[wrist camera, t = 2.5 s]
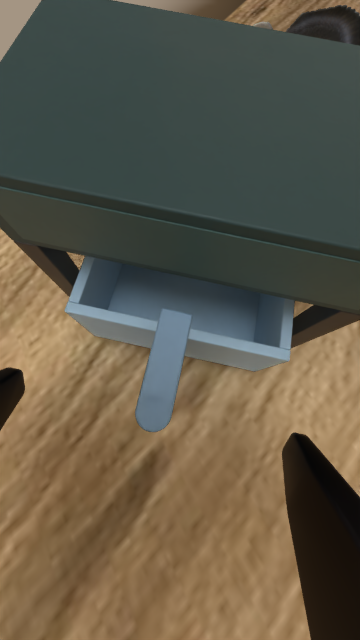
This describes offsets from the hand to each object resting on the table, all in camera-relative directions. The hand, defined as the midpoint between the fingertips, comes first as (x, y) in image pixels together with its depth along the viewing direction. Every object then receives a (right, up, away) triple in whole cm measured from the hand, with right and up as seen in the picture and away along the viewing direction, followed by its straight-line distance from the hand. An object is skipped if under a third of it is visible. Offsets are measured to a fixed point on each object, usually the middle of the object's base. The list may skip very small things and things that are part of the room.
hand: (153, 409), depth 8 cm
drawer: (+1, +3, +11) cm, 11 cm away
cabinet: (+2, +7, +12) cm, 14 cm away
